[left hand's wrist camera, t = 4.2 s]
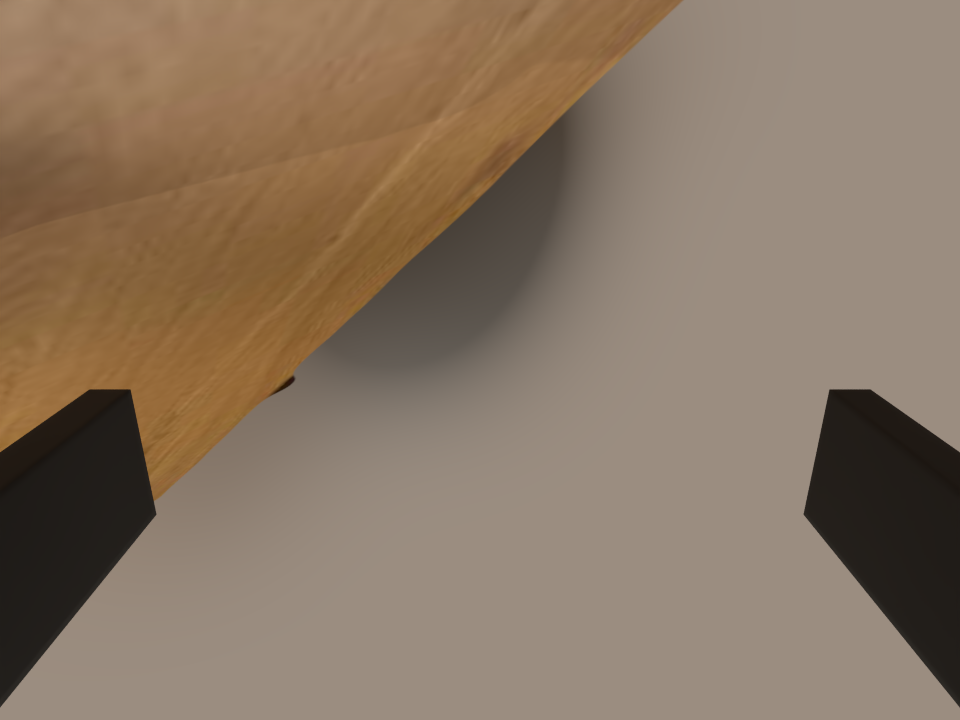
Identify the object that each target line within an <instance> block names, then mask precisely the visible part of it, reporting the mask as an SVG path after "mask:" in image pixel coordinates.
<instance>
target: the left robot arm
mask: <svg viewBox="0 0 960 720" xmlns="http://www.w3.org/2000/svg"><path fill="white" fill-rule="evenodd" d="M155 516H156V511H155V505H154V501H153V496H152V491H151V486H150V481H149V476H148V472H147V467H146V462H145V457H144V452H143V448H142V443H141V438H140V433H139V428H138V424H137V419H136V414H135V409H134V404H133V399H132V395H131V390H88V391H87V392H85V393H84V394H83V395H81V396H80V397H78V398H77V399H75V400H74V401H73V402H71V403H70V404H68V405H67V406H65V407H64V408H63V409H61V410H60V411H58V412H57V413H56V414H54V415H53V416H51V417H50V418H48V419H47V420H46V421H44V422H43V423H41V424H40V425H38V426H37V427H36V428H34V429H33V430H31V431H30V432H29V433H27V434H26V435H24V436H23V437H21V438H20V439H19V440H17V441H16V442H14V443H13V444H11V445H10V446H9V447H7V448H6V449H4V450H3V451H1V452H0V707H1V706H2V704H3V703H4V702H5V701H6V700H7V698H8V697H9V696H10V695H11V693H12V692H13V691H14V690H15V688H16V687H17V686H18V685H19V683H20V682H21V681H22V680H23V678H24V677H25V676H26V675H27V674H28V672H29V671H30V670H31V669H32V667H33V666H34V665H35V664H36V662H37V661H38V660H39V659H40V658H41V656H42V655H43V654H44V653H45V651H46V650H47V649H48V648H49V646H50V645H51V644H52V643H53V642H54V640H55V639H56V638H57V636H58V635H59V634H60V633H61V632H62V630H63V629H64V628H65V627H66V625H67V624H68V623H69V622H70V621H71V619H72V618H73V617H74V615H75V614H76V613H77V612H78V611H79V609H80V608H81V607H82V606H83V604H84V603H85V602H86V601H87V599H88V598H89V597H90V596H91V595H92V593H93V592H94V591H95V590H96V588H97V587H98V586H99V585H100V583H101V582H102V581H103V580H104V579H105V577H106V576H107V575H108V574H109V572H110V571H111V570H112V569H113V567H114V566H115V565H116V564H117V563H118V561H119V560H120V559H121V557H122V556H123V555H124V554H125V553H126V551H127V550H128V549H129V548H130V546H131V545H132V544H133V543H134V542H135V540H136V539H137V538H138V537H139V535H140V534H141V533H142V532H143V530H144V529H145V528H146V527H147V525H148V524H149V523H150V522H151V520H152V519H153V518H154V517H155ZM804 516H805V517H806V518H807V519H808V521H809V522H810V523H811V524H812V525H813V527H814V528H815V529H816V530H817V532H818V533H819V534H820V535H821V537H822V538H823V539H824V540H825V542H826V543H827V544H828V545H829V546H830V548H831V549H832V550H833V551H834V553H835V554H836V555H837V556H838V558H839V559H840V560H841V561H842V562H843V564H844V565H845V566H846V567H847V569H848V570H849V571H850V572H851V574H852V575H853V576H854V577H855V578H856V580H857V581H858V582H859V583H860V585H861V586H862V587H863V588H864V590H865V591H866V592H867V593H868V594H869V596H870V597H871V598H872V599H873V601H874V602H875V603H876V604H877V606H878V607H879V608H880V609H881V611H882V612H883V613H884V614H885V616H886V617H887V618H888V619H889V621H890V622H891V623H892V624H893V625H894V627H895V628H896V629H897V630H898V632H899V633H900V634H901V635H902V637H903V638H904V639H905V640H906V642H907V643H908V644H909V645H910V646H911V648H912V649H913V650H914V651H915V653H916V654H917V655H918V656H919V658H920V659H921V660H922V661H923V662H924V664H925V665H926V666H927V667H928V669H929V670H930V671H931V672H932V674H933V675H934V676H935V677H936V679H937V680H938V681H939V682H940V683H941V685H942V686H943V687H944V688H945V690H946V691H947V692H948V693H949V695H950V696H951V697H952V698H953V700H954V701H955V702H956V703H957V704H958V706H959V707H960V452H959V451H957V450H956V449H954V448H953V447H951V446H950V445H949V444H947V443H946V442H944V441H943V440H941V439H940V438H939V437H937V436H936V435H934V434H933V433H931V432H930V431H929V430H927V429H926V428H924V427H923V426H922V425H920V424H919V423H917V422H916V421H914V420H913V419H912V418H910V417H909V416H907V415H906V414H904V413H903V412H902V411H900V410H899V409H897V408H896V407H894V406H893V405H892V404H890V403H889V402H887V401H886V400H885V399H883V398H882V397H880V396H879V395H877V394H876V393H875V392H873V391H872V390H829V395H828V400H827V404H826V409H825V414H824V419H823V424H822V428H821V433H820V438H819V443H818V448H817V452H816V457H815V462H814V467H813V472H812V476H811V481H810V486H809V491H808V496H807V501H806V505H805V510H804Z"/></svg>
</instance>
